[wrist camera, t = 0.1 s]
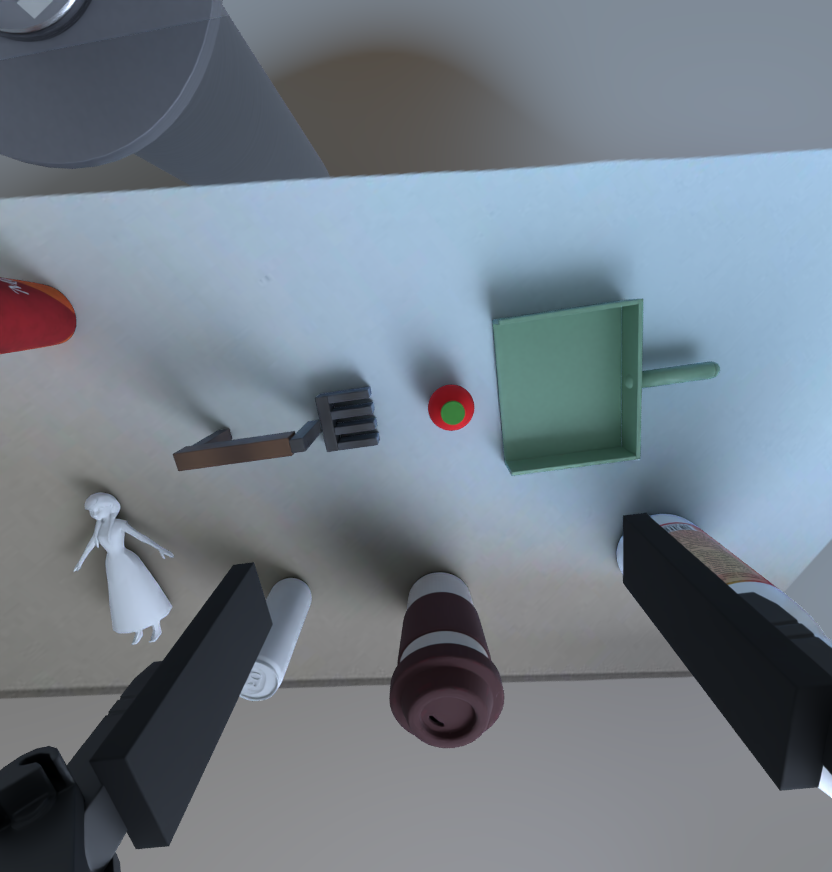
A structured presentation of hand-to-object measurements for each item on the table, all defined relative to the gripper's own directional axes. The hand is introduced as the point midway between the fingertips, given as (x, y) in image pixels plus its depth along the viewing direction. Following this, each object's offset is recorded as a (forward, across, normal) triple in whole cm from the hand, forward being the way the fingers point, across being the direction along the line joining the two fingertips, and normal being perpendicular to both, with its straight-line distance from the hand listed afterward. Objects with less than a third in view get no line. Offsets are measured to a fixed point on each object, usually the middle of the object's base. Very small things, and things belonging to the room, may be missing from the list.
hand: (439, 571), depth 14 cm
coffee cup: (+28, -2, -23) cm, 36 cm away
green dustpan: (+27, +17, 0) cm, 33 cm away
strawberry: (+25, +2, 0) cm, 25 cm away
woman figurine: (+28, -36, -13) cm, 47 cm away
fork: (+27, -13, 0) cm, 31 cm away
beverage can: (+28, -19, -20) cm, 39 cm away
